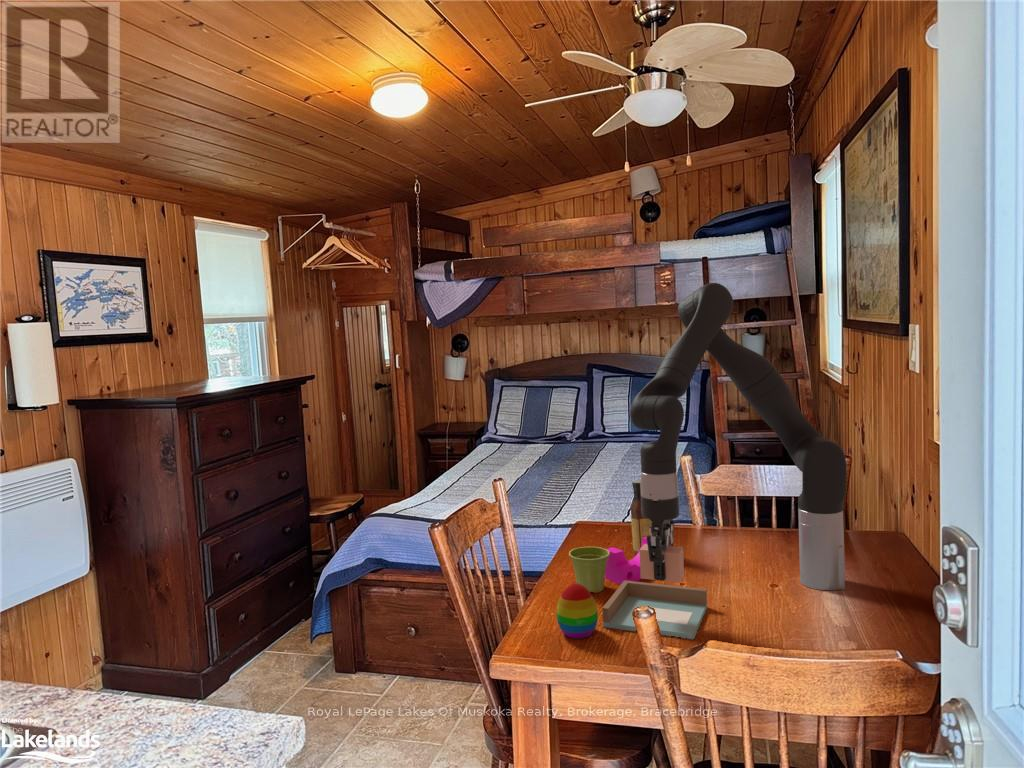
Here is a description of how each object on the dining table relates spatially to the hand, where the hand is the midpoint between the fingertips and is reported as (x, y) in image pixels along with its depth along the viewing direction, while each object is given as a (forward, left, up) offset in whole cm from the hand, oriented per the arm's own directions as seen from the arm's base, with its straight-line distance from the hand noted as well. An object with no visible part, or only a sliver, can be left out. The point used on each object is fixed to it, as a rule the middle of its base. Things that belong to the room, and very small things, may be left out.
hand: (662, 575), depth 139 cm
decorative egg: (+15, +11, -10) cm, 21 cm away
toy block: (+12, -24, -10) cm, 28 cm away
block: (0, 0, 0) cm, 0 cm away
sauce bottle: (+14, -39, -10) cm, 42 cm away
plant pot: (+20, -12, -10) cm, 25 cm away
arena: (+2, -1, -9) cm, 10 cm away
